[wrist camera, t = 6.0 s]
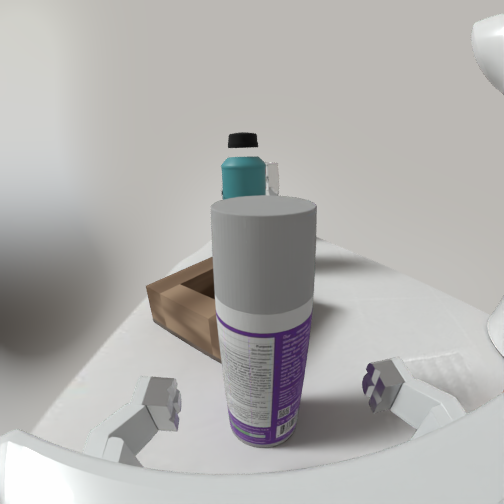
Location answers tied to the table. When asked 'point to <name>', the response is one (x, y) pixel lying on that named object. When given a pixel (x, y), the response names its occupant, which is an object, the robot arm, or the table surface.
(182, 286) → the socket block
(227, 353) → the container
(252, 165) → the beverage bottle
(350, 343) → the table surface
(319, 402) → the table surface
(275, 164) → the beer glass
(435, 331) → the table surface
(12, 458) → the robot arm
